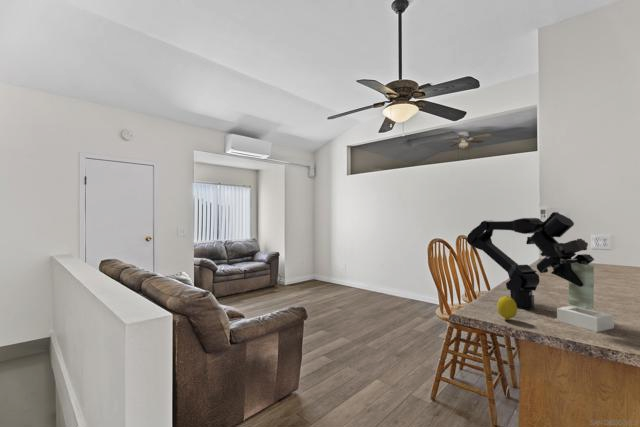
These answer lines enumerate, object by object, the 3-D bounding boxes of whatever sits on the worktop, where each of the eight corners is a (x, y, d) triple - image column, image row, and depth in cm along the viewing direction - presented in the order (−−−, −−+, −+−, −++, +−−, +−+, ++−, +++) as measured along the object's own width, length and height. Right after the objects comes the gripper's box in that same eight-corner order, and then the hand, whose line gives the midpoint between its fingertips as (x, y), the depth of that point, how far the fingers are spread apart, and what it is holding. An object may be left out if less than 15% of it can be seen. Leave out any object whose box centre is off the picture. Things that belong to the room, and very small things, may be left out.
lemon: (493, 317, 101) (493, 293, 101) (510, 317, 101) (510, 293, 101) (503, 322, 95) (503, 297, 96) (521, 322, 95) (520, 297, 95)
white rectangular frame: (557, 320, 97) (556, 308, 97) (573, 317, 100) (573, 305, 100) (597, 332, 87) (596, 318, 87) (613, 327, 90) (613, 314, 90)
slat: (568, 304, 95) (568, 263, 95) (575, 303, 96) (575, 263, 96) (586, 308, 90) (586, 265, 90) (593, 308, 91) (593, 265, 91)
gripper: (545, 231, 94) (585, 272, 84) (586, 229, 100) (629, 268, 89) (522, 253, 102) (556, 293, 91) (562, 250, 107) (598, 288, 97)
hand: (585, 285), depth 92 cm, fingers closed on slat, 3 cm apart
